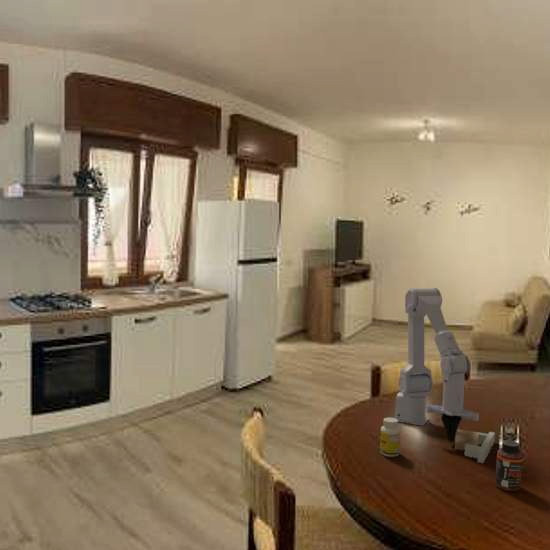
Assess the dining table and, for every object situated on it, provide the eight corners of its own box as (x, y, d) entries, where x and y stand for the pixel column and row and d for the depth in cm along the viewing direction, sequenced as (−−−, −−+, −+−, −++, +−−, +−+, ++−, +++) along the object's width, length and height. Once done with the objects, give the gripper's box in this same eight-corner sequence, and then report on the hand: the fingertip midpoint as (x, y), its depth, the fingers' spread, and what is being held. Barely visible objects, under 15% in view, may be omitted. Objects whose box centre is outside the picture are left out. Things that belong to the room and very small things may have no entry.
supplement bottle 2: (509, 494, 144) (511, 449, 143) (489, 484, 149) (492, 440, 148) (526, 489, 147) (529, 445, 145) (506, 480, 152) (509, 436, 151)
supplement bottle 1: (377, 449, 170) (378, 416, 169) (396, 449, 171) (397, 416, 170) (382, 457, 165) (384, 423, 164) (401, 457, 165) (403, 422, 164)
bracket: (462, 458, 165) (462, 448, 164) (475, 438, 180) (475, 429, 180) (483, 463, 162) (483, 452, 162) (494, 442, 178) (494, 432, 177)
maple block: (454, 449, 172) (455, 435, 171) (457, 442, 177) (457, 429, 177) (476, 452, 169) (477, 439, 169) (478, 445, 175) (479, 432, 175)
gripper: (424, 394, 174) (422, 439, 175) (476, 402, 167) (473, 449, 168) (431, 388, 180) (429, 432, 181) (481, 396, 173) (478, 441, 174)
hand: (450, 440), depth 175 cm, fingers closed
